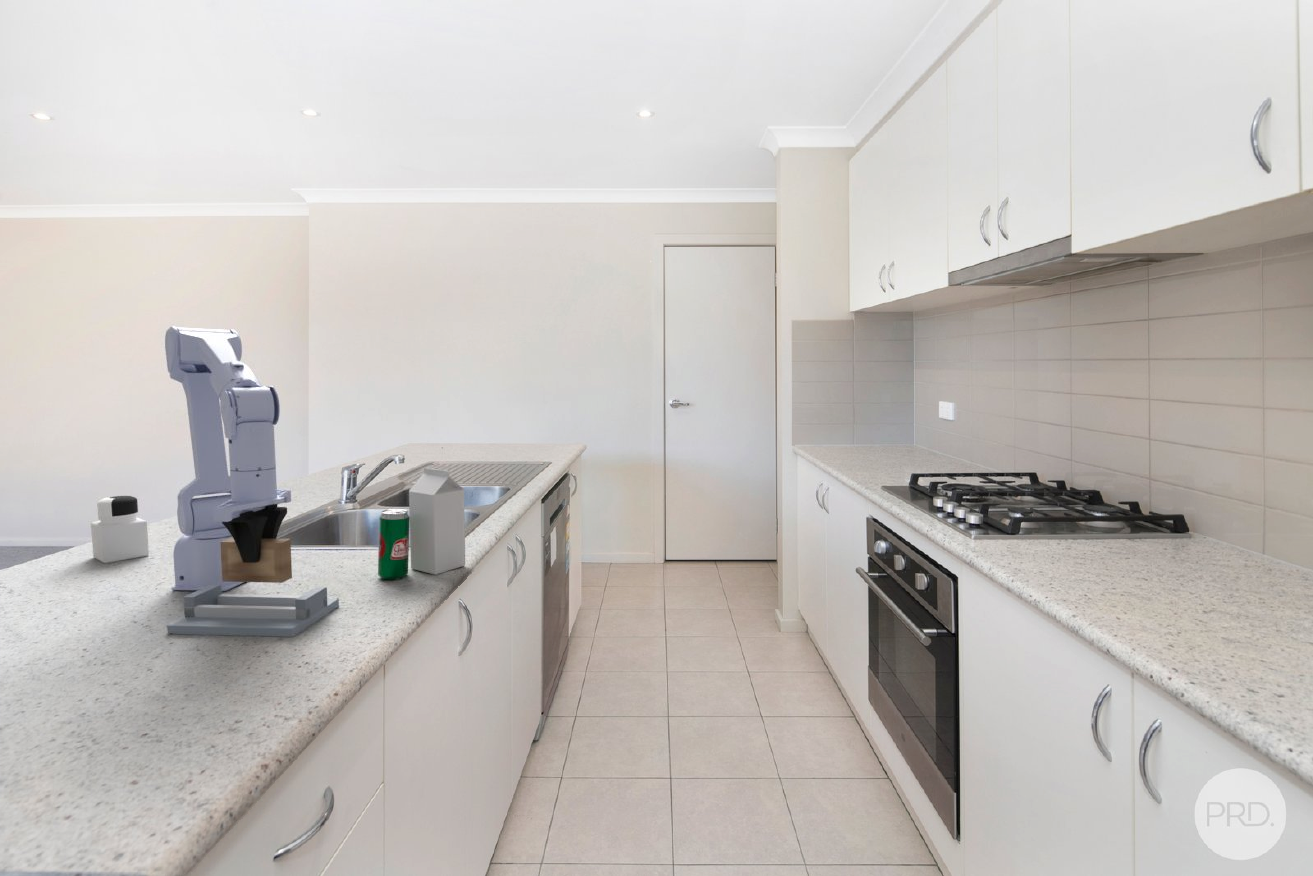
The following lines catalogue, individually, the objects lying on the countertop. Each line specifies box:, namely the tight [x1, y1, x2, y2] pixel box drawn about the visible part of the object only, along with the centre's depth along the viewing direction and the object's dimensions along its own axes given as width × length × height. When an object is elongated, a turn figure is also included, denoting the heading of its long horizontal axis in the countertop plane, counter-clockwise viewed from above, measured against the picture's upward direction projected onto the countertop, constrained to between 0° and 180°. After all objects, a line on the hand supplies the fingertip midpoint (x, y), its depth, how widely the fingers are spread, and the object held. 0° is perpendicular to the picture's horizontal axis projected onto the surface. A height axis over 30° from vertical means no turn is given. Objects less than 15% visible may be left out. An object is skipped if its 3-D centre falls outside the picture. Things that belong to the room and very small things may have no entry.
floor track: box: [166, 584, 340, 638], centre depth 94 cm, size 18×12×4 cm, turn 88°
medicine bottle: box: [90, 495, 150, 564], centre depth 125 cm, size 7×7×12 cm
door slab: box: [220, 538, 293, 584], centre depth 94 cm, size 9×2×6 cm, turn 89°
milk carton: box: [408, 467, 466, 575], centre depth 120 cm, size 7×7×19 cm
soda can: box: [377, 508, 410, 581], centre depth 114 cm, size 5×5×12 cm
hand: (257, 559), depth 94 cm, fingers closed on door slab, 2 cm apart
